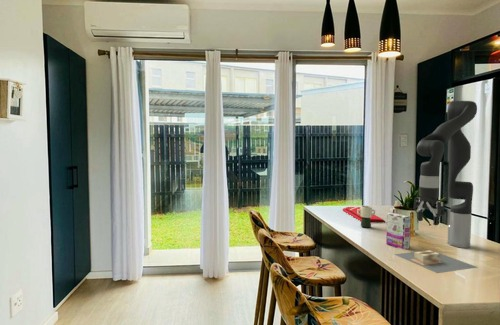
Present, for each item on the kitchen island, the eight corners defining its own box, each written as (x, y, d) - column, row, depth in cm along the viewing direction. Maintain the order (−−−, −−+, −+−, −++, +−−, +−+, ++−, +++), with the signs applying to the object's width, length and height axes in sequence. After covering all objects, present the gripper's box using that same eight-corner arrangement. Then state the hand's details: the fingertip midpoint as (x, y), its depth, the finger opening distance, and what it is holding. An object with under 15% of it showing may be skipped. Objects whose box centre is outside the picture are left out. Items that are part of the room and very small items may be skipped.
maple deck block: (429, 257, 151) (430, 250, 151) (439, 261, 146) (439, 253, 146) (414, 259, 148) (414, 251, 148) (422, 263, 144) (423, 255, 143)
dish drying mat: (362, 223, 222) (362, 218, 222) (341, 211, 263) (342, 206, 263) (385, 223, 223) (385, 217, 223) (361, 211, 264) (361, 206, 264)
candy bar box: (410, 249, 167) (411, 216, 166) (403, 250, 165) (404, 217, 164) (392, 243, 177) (393, 212, 176) (385, 244, 175) (386, 213, 174)
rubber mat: (394, 255, 157) (394, 253, 157) (430, 251, 163) (430, 249, 163) (437, 274, 134) (437, 272, 134) (477, 268, 141) (477, 266, 141)
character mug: (373, 226, 214) (373, 205, 213) (376, 228, 207) (376, 208, 206) (355, 225, 215) (356, 205, 214) (357, 228, 208) (358, 207, 207)
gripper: (449, 187, 140) (448, 226, 141) (422, 183, 154) (421, 218, 154) (435, 188, 138) (434, 227, 139) (409, 184, 151) (408, 219, 152)
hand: (427, 222), depth 147 cm, fingers open, 8 cm apart
